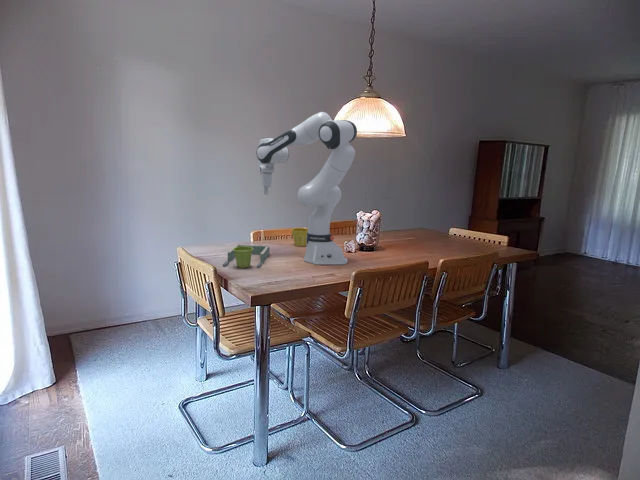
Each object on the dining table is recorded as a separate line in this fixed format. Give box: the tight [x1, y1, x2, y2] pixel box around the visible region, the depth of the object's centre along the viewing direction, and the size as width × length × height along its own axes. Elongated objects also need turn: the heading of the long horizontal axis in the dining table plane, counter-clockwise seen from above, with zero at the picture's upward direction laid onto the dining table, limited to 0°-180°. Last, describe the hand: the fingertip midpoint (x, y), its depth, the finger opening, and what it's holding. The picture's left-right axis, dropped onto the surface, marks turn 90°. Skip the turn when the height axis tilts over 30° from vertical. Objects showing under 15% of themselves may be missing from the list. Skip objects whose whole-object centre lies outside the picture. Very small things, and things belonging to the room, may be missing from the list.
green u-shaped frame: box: [227, 243, 270, 265], centre depth 223 cm, size 18×20×5 cm
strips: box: [222, 260, 263, 269], centre depth 208 cm, size 18×6×1 cm, turn 88°
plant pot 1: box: [232, 246, 253, 269], centre depth 206 cm, size 9×9×9 cm
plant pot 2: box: [291, 227, 308, 247], centre depth 259 cm, size 10×10×10 cm
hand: (265, 194), depth 237 cm, fingers closed
